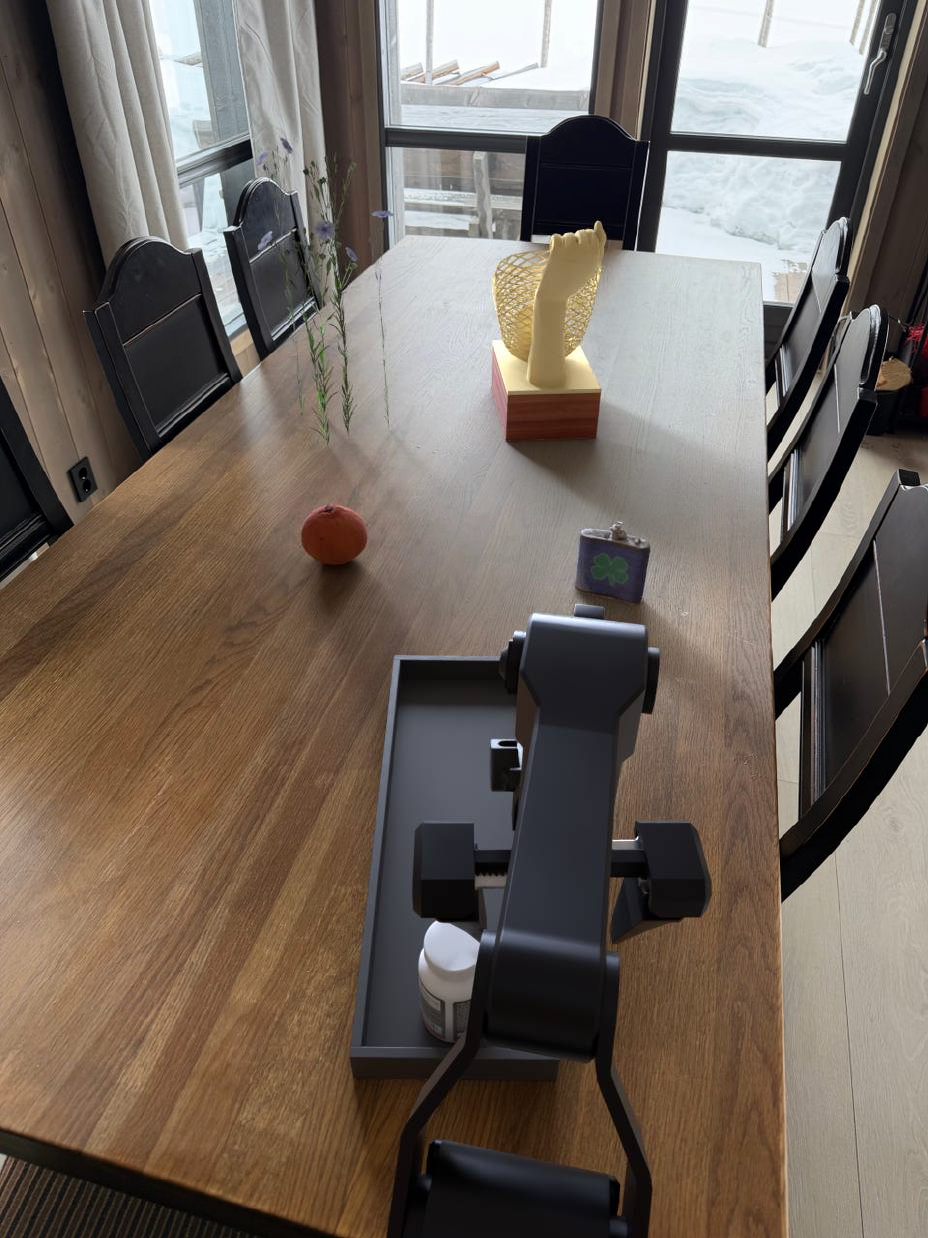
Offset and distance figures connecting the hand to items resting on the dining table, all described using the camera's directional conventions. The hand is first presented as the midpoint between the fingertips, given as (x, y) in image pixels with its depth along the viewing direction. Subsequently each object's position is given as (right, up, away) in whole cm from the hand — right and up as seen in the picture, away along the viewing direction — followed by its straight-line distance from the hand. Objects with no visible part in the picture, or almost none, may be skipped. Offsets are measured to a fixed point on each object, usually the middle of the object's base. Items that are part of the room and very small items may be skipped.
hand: (548, 938), depth 61 cm
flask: (+13, +26, +54) cm, 62 cm away
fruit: (-24, +31, +60) cm, 72 cm away
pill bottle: (-7, -9, +9) cm, 14 cm away
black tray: (-6, +1, +23) cm, 24 cm away
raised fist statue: (+8, +60, +98) cm, 115 cm away
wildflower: (-28, +56, +92) cm, 111 cm away
